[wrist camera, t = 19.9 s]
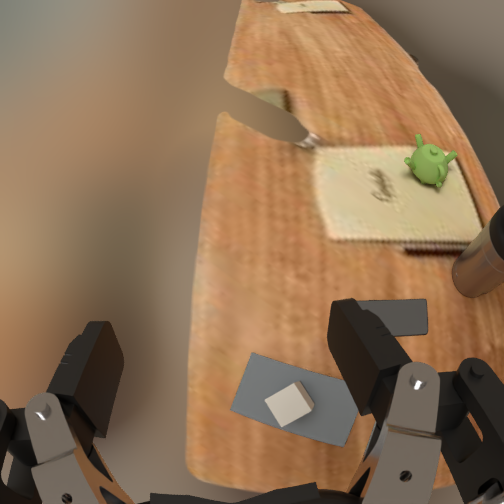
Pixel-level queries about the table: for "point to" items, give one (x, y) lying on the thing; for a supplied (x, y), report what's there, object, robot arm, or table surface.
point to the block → (290, 403)
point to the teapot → (429, 163)
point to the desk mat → (318, 386)
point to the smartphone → (400, 315)
